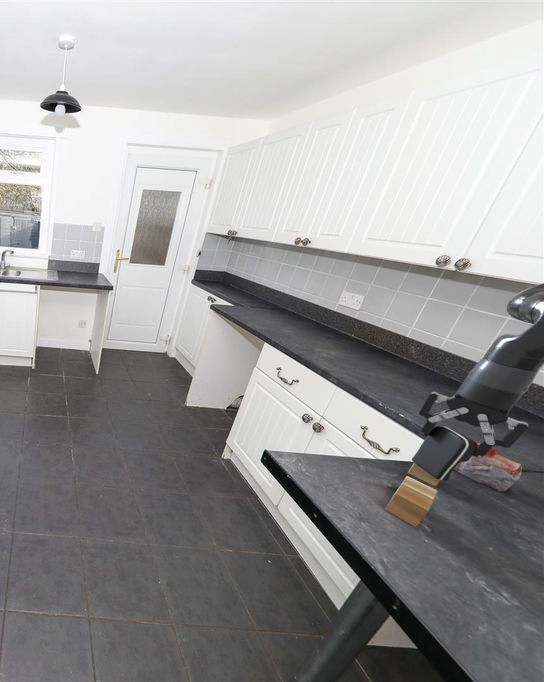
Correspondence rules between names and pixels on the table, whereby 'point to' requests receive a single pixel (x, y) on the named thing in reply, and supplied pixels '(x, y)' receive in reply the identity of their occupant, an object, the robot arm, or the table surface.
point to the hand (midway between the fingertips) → (449, 444)
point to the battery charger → (444, 451)
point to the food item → (491, 470)
